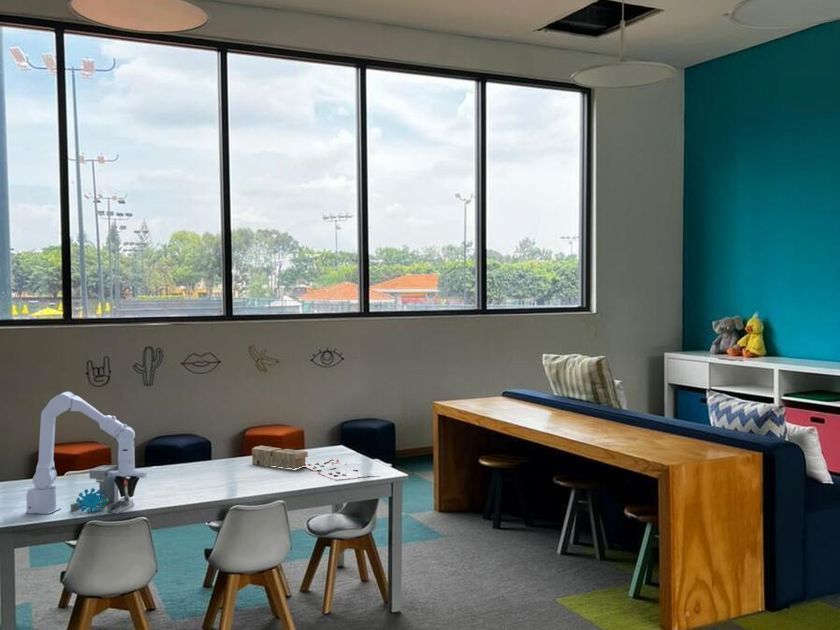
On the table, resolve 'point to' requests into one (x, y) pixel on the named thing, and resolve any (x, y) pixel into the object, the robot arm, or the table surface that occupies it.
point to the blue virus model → (91, 500)
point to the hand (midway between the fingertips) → (127, 496)
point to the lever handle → (126, 494)
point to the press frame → (106, 488)
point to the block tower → (278, 457)
